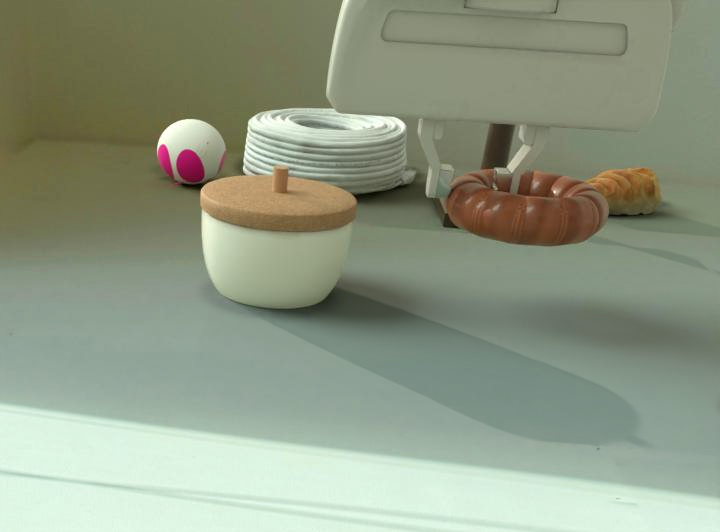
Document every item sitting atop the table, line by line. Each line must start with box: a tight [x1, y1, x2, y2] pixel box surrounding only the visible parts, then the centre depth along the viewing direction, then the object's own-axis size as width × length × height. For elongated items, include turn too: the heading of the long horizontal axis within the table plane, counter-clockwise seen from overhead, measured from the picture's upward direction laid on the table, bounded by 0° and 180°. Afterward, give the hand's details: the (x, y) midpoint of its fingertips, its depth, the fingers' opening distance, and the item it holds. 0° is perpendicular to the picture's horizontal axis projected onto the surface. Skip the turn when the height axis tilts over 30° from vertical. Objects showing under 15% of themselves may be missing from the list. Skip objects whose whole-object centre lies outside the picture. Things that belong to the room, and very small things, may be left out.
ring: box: [444, 169, 610, 248], centre depth 61 cm, size 10×10×3 cm
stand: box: [433, 123, 517, 228], centre depth 88 cm, size 9×9×10 cm
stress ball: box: [156, 118, 227, 188], centre depth 94 cm, size 8×8×7 cm
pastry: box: [584, 166, 663, 216], centre depth 96 cm, size 9×7×4 cm
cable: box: [242, 107, 418, 196], centre depth 97 cm, size 18×18×6 cm
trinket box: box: [199, 166, 358, 310], centre depth 64 cm, size 11×11×9 cm
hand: (468, 198), depth 61 cm, fingers closed on ring, 3 cm apart
